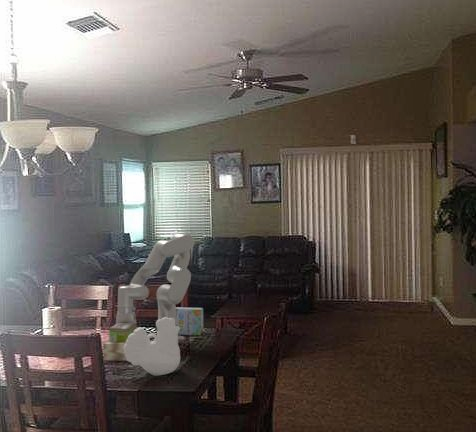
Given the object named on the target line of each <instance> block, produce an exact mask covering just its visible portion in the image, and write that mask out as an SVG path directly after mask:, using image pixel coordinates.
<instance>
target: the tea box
mask: <svg viewBox="0 0 476 432" xmlns="http://www.w3.org/2000/svg"><path fill="white" fill-rule="evenodd" d="M136 326H137V322H136V323H117V324H116V323H115V324H114V325H112V326H110V327H109V334H108V335H109V336H108V337H109V339H108V340H109V341H108V342H126V340H127V338H128V336H129V335H130V334H131V333H134V330H135V329H137V328H136Z"/></svg>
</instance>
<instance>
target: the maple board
mask: <svg viewBox="0 0 476 432" xmlns="http://www.w3.org/2000/svg"><path fill="white" fill-rule="evenodd" d="M125 344H126V342H109V341H107V342H106V341H105V342H104V343H103V345H102V348H103V349H102V352H103V353H102V354H103V355H104V360H103V361H127V359H126V357H125V354H124V350H123V346H124V345H125ZM103 355H102V356H103Z"/></svg>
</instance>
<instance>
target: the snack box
mask: <svg viewBox="0 0 476 432" xmlns="http://www.w3.org/2000/svg"><path fill="white" fill-rule="evenodd" d="M176 326H178V327H180V330H179V331H178V335H180V336H181V335H182V336H184V335H185V336H187V335H188V336H202V335H203V334H204V308H203V307H179V306H178V307H176ZM202 333H203V334H202ZM201 334H202V335H201Z"/></svg>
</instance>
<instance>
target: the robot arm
mask: <svg viewBox="0 0 476 432" xmlns="http://www.w3.org/2000/svg"><path fill="white" fill-rule="evenodd" d="M195 243H196V242H195V238H194V237H193V236H192V234H189V233H181V232H180V233H179V232H178V233H175V234H174V235H172V237H171V239H170V240H167V239H166V240H165V239H162V240H158V241H156V242H155V243H154V245H153V247H152V250H151V251H150V253H149V254H148V257H147V259H146V261H145V263H144V264H143V265H142V266H141V267H140V268H139V270H138V271H136V273H135V274H134V276H133V277H132V279H131V281H130V283H129V285H121V286H119V287H118V289H117V299H118V300H117V302H118V304H117V309H118V310H117V313H116V316H115V317H116V318H115V319H116V320H115V324H117V323H136V324H137V318H136V317H137V316H136V312H135V311H136V310H137V308H136V307H134V300H137V301H138V300H139V301H140V300H141V301H142V300H146V298H148V297H149V295H150V290H149V288H148V287H147V286H145V284H146V282H147V281H148V279H150V278H151V277H152V276H155V275H156V274H158V273H159V272H160V270H161V268H162V266H163V264H164V263H165V260H166V258H170V257H174V258H173V259H172V261H171V264H170V266H169V269H168V271H167V273H166V280H167V281H168V282H169V283H171V284H162V285H160V286H159V287H158V288H157V290H156V301H157V309H158V310H157V311H158V312H157V313H158V315H157V316H158V317H157V320H159V319H162V318H164V317H168V318H174V319H175V326H176V305H178V304H180V303H181V302H182V300H183V299H184V297H185V294H186V293H187V290H188V288H189V286H190V283H191V279H192V274H191V271H190V270H189V269H188V266H189V262H190V259H191V252H190V250H191V249H193V247H194V246H195ZM137 328H138V327H137V325H136V329H137ZM180 341H185V336H184V335H182V336H181V335H178V344H179V343H180Z"/></svg>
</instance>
